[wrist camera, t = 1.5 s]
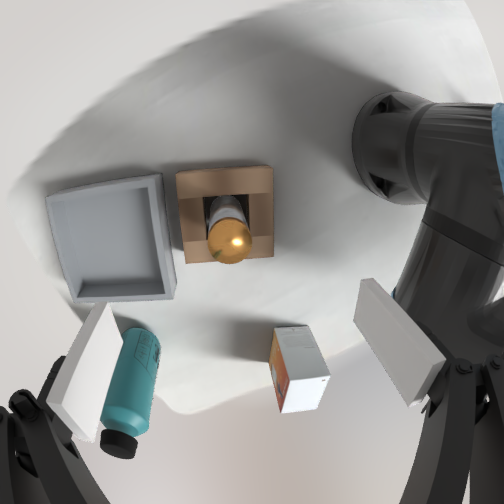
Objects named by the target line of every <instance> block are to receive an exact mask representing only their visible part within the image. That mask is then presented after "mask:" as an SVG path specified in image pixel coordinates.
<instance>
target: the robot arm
mask: <svg viewBox="0 0 504 504" xmlns="http://www.w3.org/2000/svg"><path fill="white" fill-rule="evenodd" d="M352 150H353V157H354V161H355V165H356V167H357V170H358V172H359V174H360V176H361V178H362V180H363V181H364V183H365V184H366V185H367V187H368V188H369V189H370V190H371V191H372V192H374V193H375V194H376V195H378V196H379V197H381V198H383V199H386V200H388V201H390V202H392V203H395V204H400V205H415V204H427V206H426V210H425V213H424V216H423V219H422V221H421V224H420V227H419V230H418V233H417V236H416V239H415V241H414V244H413V247H412V249H411V252H410V255H409V257H408V260H407V262H406V265H405V267H404V270H403V272H402V274H401V277H400V279H399V281H398V284H397V286H396V287H395V288H394V290H393V291H392V293H391V296H390V295H389V294H388V293H387V292H386V291H385V290H384V289H383V288H382V287H381V286H380V285H379V284H378V283H377V282H376V281H375V280H374V279H373V278H370V279H363V280H361V283H360V289H359V294H358V300H357V305H356V310H355V315H354V319H353V321H354V323H355V324H356V326H357V327H358V329H359V330H360V332H361V333H362V335H363V336H364V338H365V339H366V341H367V342H368V344H369V345H370V347H371V349H372V350H373V352H374V353H375V355H376V356H377V358H378V359H379V361H380V362H381V364H382V365H383V367H384V369H385V370H386V372H387V373H388V375H389V377H390V378H391V380H392V381H393V383H394V385H395V386H396V388H397V389H398V391H399V393H400V394H401V396H402V397H403V399H404V401H405V402H406V404H407V406H408V407H411V406H413V405H415V404H418V403H420V402H422V400H423V399H424V397H425V396H426V394H428V396H429V397H430V399H429V401H428V402H427V404H426V405H425V407H424V408H423V409H422V412H421V413H423V412H424V411H425V410H426V414H425V419H424V424H423V429H422V433H421V437H420V441H419V445H418V449H417V453H416V456H415V460H414V463H413V466H412V470H411V473H410V476H409V479H408V482H407V485H406V487H405V490H404V493H403V496H402V498H401V501H400V503H399V504H462V501H463V497H464V493H465V489H466V484H467V479H468V474H469V471H470V504H504V104H503V103H496V104H483V103H434V102H431V101H429V100H426V99H424V98H422V97H419V96H416V95H414V94H411V93H407V92H398V91H397V92H389V93H383V94H380V95H378V96H376V97H374V98H372V99H371V100H370V101H368V102H367V103H366V104H365V106H364V107H363V108H362V109H361V111H360V113H359V115H358V117H357V119H356V122H355V125H354V129H353V136H352ZM122 345H123V340H122V338H121V335H120V332H119V330H118V327H117V324H116V322H115V319H114V316H113V313H112V310H111V307H110V304H109V302H96V303H95V305H94V306H93V308H92V310H91V311H90V313H89V315H88V317H87V318H86V320H85V322H84V324H83V326H82V327H81V329H80V331H79V333H78V335H77V337H76V339H75V340H74V342H73V344H72V346H71V348H70V350H69V352H68V354H67V356H61V357H60V358H59V359H58V360H57V361H56V362H55V363H54V364H53V367H52V368H51V370H50V373H49V374H48V376H47V379H46V381H45V383H44V385H43V387H42V389H41V391H40V394H39V396H38V398H37V400H36V398H35V397H34V396H33V395H32V393H31V392H30V391H28V390H24V389H21V390H18V391H17V392H15V393H14V394H13V395H12V396H11V397H10V400H9V408H10V409H11V410H12V412H13V413H9V412H8V411H7V410H6V409H5V408H4V407H2V406H0V504H110V502H109V501H108V500H107V498H106V497H105V495H104V494H103V492H102V491H101V489H100V488H99V486H98V484H97V483H96V481H95V480H94V478H93V477H92V475H91V473H90V471H89V470H88V468H87V466H86V464H85V463H84V461H83V459H82V457H81V455H80V453H79V451H78V449H77V448H76V446H75V444H74V442H73V441H72V440H71V437H72V434H74V435H75V436H76V437H77V438H78V439H79V440H83V441H87V442H92V443H94V440H95V436H96V432H97V428H98V424H99V420H100V416H101V413H102V409H103V405H104V402H105V398H106V395H107V391H108V388H109V385H110V381H111V378H112V375H113V372H114V368H115V365H116V362H117V359H118V356H119V353H120V350H121V347H122ZM487 396H488V397H489V402H487V400H486V398H487ZM15 451H16V456H15Z"/></svg>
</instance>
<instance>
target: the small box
mask: <svg viewBox="0 0 504 504" xmlns="http://www.w3.org/2000/svg"><path fill="white" fill-rule="evenodd" d="M269 367H270V371H271V375H272V380H273V384H274V388H275V392H276V396H277V401H278V405H279V409H280V413H288V412H297V411H305V410H312V409H317V407H318V404H319V401H320V399H321V397H322V394H323V392H324V390H325V387H326V385H327V383H328V380H329V379H330V377H331V374H330V372H329V369H328V368H327V365H326V363H325V361H324V358H323V356H322V354H321V352H320V349H319V347H318V345H317V343H316V341H315V338H314V336H313V334H312V332H311V330H310V328H309V326H301V327H282V328H274V333H273V340H272V346H271V352H270V357H269Z"/></svg>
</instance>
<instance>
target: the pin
mask: <svg viewBox="0 0 504 504" xmlns="http://www.w3.org/2000/svg"><path fill="white" fill-rule="evenodd" d="M251 248H252V237H251V234H250V231H249V228H248V225H247V222H246V219H245V216H244V213H243V210H242V207H241V205H240V203H239V201H238V200H237V199H236V198H235V197H233V196H230V195H222V196H219V197H218V198H216V199H215V200H214V201H213V203H212V205H211V209H210V220H209V232H208V249H209V252H210V254H211V255H212V256H213V258H215V259H216V260H217V261H219V262H221V263H225V264H234V263H238V262H240V261H242V260H243V259H245V258H246V257H247V256H248V254H249V253H250V251H251Z"/></svg>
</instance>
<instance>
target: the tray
mask: <svg viewBox="0 0 504 504" xmlns="http://www.w3.org/2000/svg"><path fill="white" fill-rule="evenodd" d="M45 200H46V206H47V211H48V216H49V220H50V225H51V229H52V233H53V237H54V241H55V245H56V249H57V253H58V256H59V260H60V263H61V266H62V269H63V273H64V276H65V279H66V282H67V285H68V288H69V291H70V293H71V296H72V299H73V302H74V303H96V302H130V301H152V300H171V299H173V298H174V294H175V289H176V285H177V279H176V273H175V268H174V262H173V255H172V249H171V242H170V235H169V228H168V221H167V213H166V205H165V196H164V187H163V177H162V173H160V174H152V175H144V176H137V177H130V178H124V179H117V180H111V181H105V182H100V183H94V184H89V185H84V186H79V187H74V188H69V189H64V190H60V191H58V192H56V193H54V194H52V195H49V196H47V197H45Z"/></svg>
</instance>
